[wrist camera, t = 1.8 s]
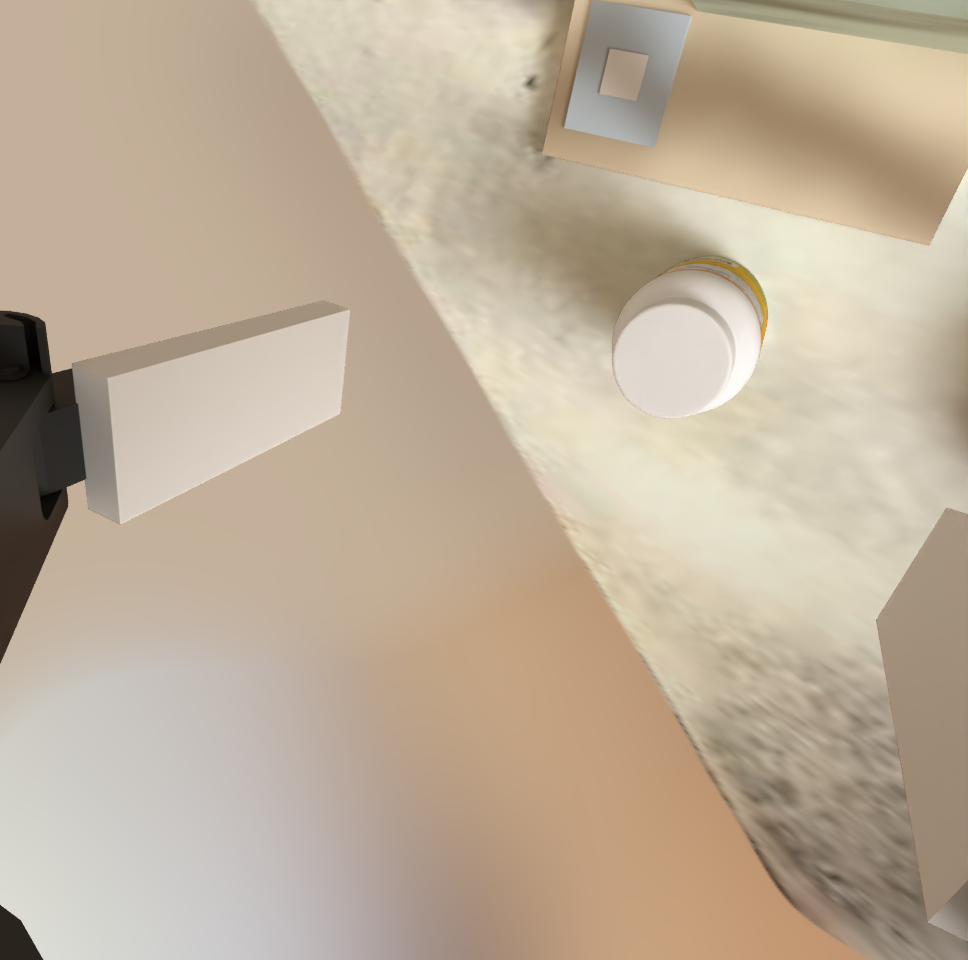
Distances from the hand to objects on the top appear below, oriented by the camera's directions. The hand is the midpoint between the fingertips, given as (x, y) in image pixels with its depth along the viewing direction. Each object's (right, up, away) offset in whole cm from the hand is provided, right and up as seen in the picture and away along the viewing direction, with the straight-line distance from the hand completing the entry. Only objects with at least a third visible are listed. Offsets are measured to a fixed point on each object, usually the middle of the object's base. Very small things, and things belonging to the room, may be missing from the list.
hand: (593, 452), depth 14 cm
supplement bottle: (+8, +7, +16) cm, 19 cm away
